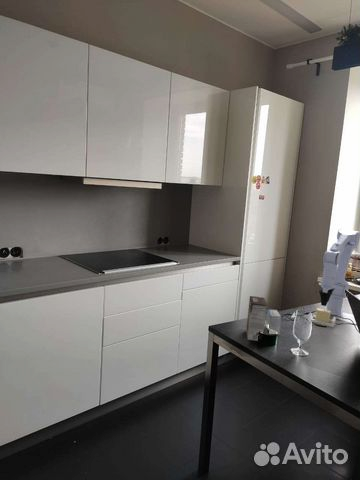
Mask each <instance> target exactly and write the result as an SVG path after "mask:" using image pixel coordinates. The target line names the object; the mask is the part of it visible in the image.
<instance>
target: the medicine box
mask: <svg viewBox="0 0 360 480" xmlns="http://www.w3.org/2000/svg"><path fill="white" fill-rule="evenodd" d="M278 311H279V310H278V309H267V310H266V318H265V323H266V322H267V323H268V324H269V328H270V329H273V330H275V331H277V332H278V335H277V336H279V335H280V330H281V323H282V316H281V314H280V313H279V312H278Z"/></svg>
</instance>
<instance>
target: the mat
mask: <svg viewBox="0 0 360 480" xmlns="http://www.w3.org/2000/svg"><path fill="white" fill-rule="evenodd" d="M295 312H296V311H294V312H293V313H292V315H291V316H290V318H291V319H295V318H294V317H295ZM310 316H311V318H312V316H313V315H310Z"/></svg>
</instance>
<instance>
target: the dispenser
mask: <svg viewBox="0 0 360 480" xmlns="http://www.w3.org/2000/svg"><path fill="white" fill-rule="evenodd" d="M311 316H312V318H311V321H312V322H311V321H310V322H311V323H314V324H319V325H322V326H327V327H330V328H335V325H336V323H337V316H333V317H332V319H331V318H330V320H329V323H327V322H323V321H319V320H315V318H316V314H313V315H311Z"/></svg>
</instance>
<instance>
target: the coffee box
mask: <svg viewBox="0 0 360 480" xmlns="http://www.w3.org/2000/svg"><path fill="white" fill-rule="evenodd" d="M267 308H268V304H267V301H266V299H265V297H259V296H255V295H254V296H253V295H252V296H251V295H249V299H248V311H247V319H246V321H247V322H246V330H245V332H246V337H247V340H250V341H257V342H259V341H258V336H259V332H264V331H265V326H266V319H267V310H268V309H267Z"/></svg>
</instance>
